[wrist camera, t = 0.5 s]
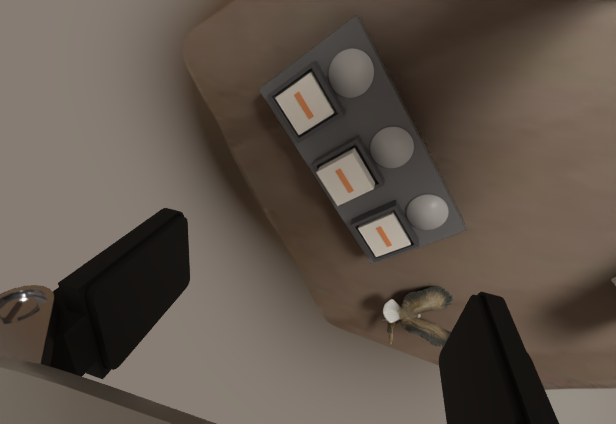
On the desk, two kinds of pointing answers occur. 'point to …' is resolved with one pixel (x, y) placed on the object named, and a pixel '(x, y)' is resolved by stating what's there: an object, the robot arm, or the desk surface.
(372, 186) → the middle button
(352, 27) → the button panel
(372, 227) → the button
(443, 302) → the eagle figurine
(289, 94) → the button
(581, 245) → the desk surface
